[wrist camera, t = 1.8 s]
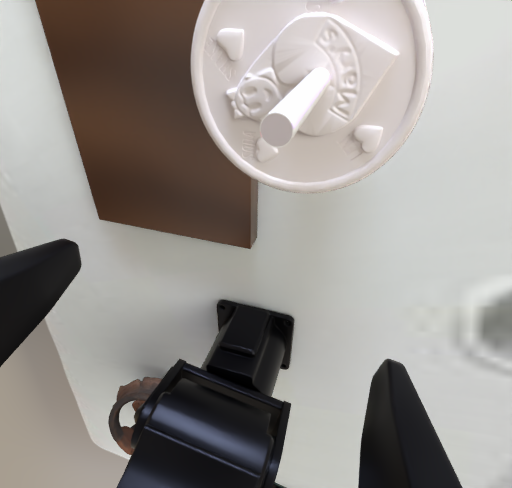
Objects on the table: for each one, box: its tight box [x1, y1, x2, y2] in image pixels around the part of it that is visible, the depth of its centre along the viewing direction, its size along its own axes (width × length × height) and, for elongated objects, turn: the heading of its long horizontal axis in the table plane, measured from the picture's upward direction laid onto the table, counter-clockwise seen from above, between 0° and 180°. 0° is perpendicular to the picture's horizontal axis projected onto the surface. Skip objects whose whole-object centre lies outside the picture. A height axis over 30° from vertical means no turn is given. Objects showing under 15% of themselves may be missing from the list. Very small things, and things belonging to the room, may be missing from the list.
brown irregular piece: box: [109, 377, 162, 455], centre depth 39 cm, size 12×10×8 cm
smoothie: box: [191, 0, 434, 193], centre depth 11 cm, size 6×6×14 cm
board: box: [35, 0, 258, 249], centre depth 20 cm, size 20×12×2 cm, turn 179°
